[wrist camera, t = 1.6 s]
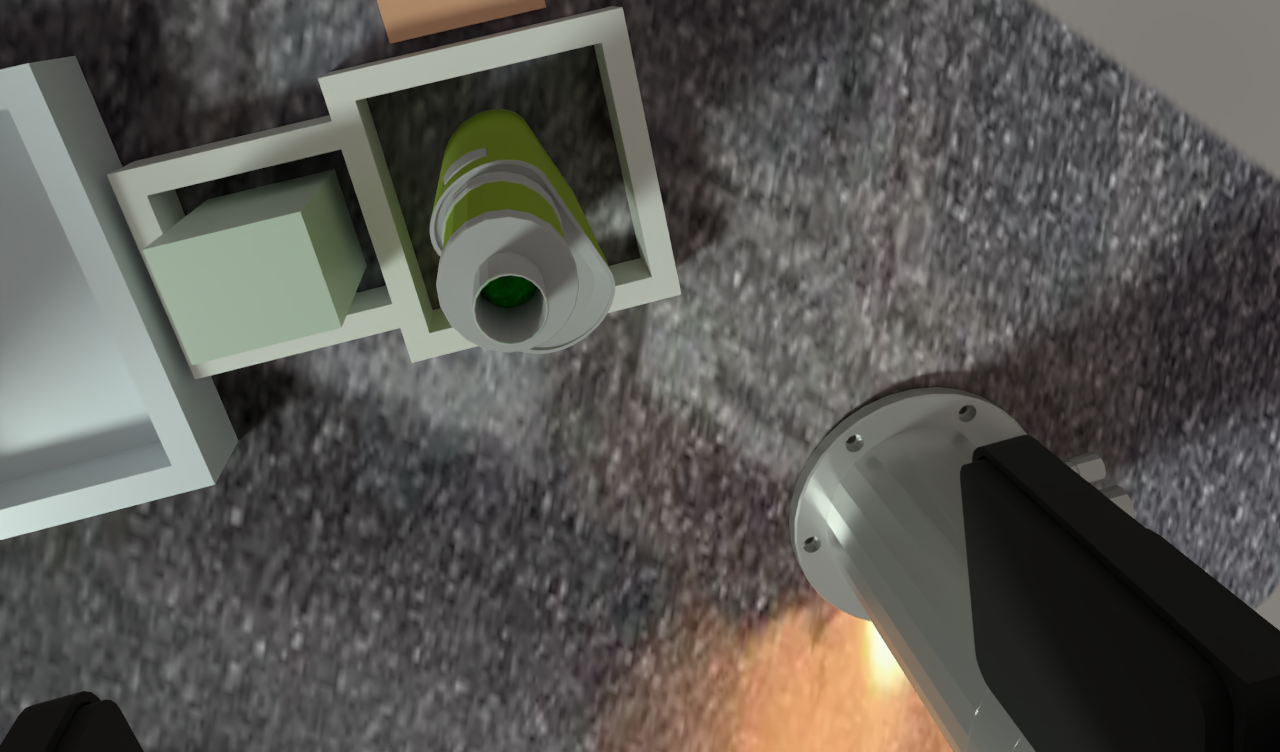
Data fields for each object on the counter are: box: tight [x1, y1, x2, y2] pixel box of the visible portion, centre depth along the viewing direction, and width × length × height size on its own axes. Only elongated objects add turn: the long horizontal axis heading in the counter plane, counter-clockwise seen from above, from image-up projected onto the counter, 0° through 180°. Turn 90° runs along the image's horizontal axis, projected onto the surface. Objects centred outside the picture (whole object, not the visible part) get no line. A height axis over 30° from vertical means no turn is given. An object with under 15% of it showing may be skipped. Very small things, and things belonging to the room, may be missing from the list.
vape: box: [430, 109, 615, 354], centre depth 30 cm, size 4×6×20 cm, turn 33°
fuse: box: [143, 169, 367, 365], centre depth 35 cm, size 5×4×8 cm
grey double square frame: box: [107, 0, 681, 379], centre depth 37 cm, size 19×14×3 cm
